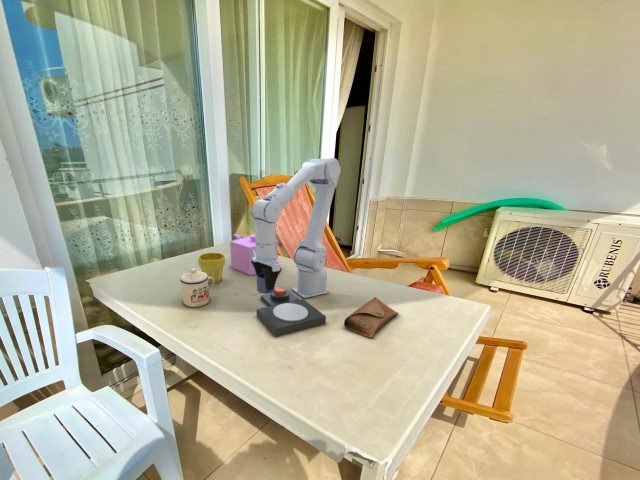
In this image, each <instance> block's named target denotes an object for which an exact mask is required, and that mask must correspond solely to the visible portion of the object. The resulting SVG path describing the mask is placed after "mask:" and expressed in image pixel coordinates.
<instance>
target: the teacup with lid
mask: <svg viewBox="0 0 640 480" xmlns="http://www.w3.org/2000/svg"><path fill="white" fill-rule="evenodd" d="M208 279H211V283H210V284H209V283H208ZM179 281H180V283H181V284H180V285H181V293H182V301H183V304H184V305H185V306H187V307H190V308H198V307H202V306H204V305H207V304H208V303H209V301H210V291H211V290H212V289H213V288H214V286H215V283H214V279H213V278H212V277H208V275H207V274H206V273H204V272H202V271H200V270H197V268H195V267H194V268H193V267H192V268H191V269H190V271H188V272H186V273H183V274H182V275H180V279H179Z"/></svg>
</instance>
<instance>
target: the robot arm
mask: <svg viewBox="0 0 640 480" xmlns="http://www.w3.org/2000/svg"><path fill="white" fill-rule="evenodd" d="M341 169H342V168H341V165H340V163H339V161H338V159H337V158H335V157H331V158H312V157H311V158H308V159H307V160H306V161H305V162H303V163H302V164H301V168H300V169H299V170H298V171H297V172H296V173H295V174H294V176H292V177H291V179H289V181H287V182H286V183H285V182H281V183H277V184H276V185H275V188H274V189H273V190H271V191H270V193H268V194H265V196H264V197H263V199H257V200H256V201H255V202H253V204H252V207H251V209H250V211H249V212H250V216H251V218H252V219H253V224H254V231H255V234H254V235H255V239H256V250H255V251H253V257H254V258H252V261H251V263H252V265H253V267H254V269H255V272H256V274H255V275H256V277H257V274H258V273H260V272H263V275H264V278H265V285H266V289H267V290H273V289H274V286H276V282H277V281H278V280H277V279H278V277H279V275H280V273H281V272H282V267H281V263H279V260H278V261H277V258H276V256H275V245H276V240H277V239H276V235H277V233H276V230H277V229H276V228H277V225H276V224H277V223H276V222H277V221H278V220H279V218H280V216H281V213H282V212H283V210H284V209H285V207H286V206H288V205H289V204H290V203H291V202H292V201H293V200H294V198H295V196H296V195H295V193H296V192H298V191H299V190H300V189H302V187H304V186H305V185H307V184H308V183H309V184H310V185H311V186H312V187H313V188H315V191H316V193H315V196H314V201H313V205H312V209H311V213H310V216H309V221H308V225H307V229H306V234H305V236H304V238H303V239H302V240H300V241H299V242H298V243H297V245H296V247H295V250H294V252H293V254H292V260H293V262H294V264H296V265H295V266H296V268H297V281H296V283H297V284H296V285H297V286H295V287H292V291H293V292H295V293H296V294H297V295H299V297H301V298H302V299H306V298H312V297H317V296H321V295H327V294H328V291H327V281H328V273H327V270H326V268H325V265H326V262H327V251H328V249H327V247H326V246H325V245H324V244H323V242H322V241H323V237H324V232H325V229H326V226H327V221H328V218H329V213H330V209H331V205H332V202H333V197H334V194H335V189H336V188H337V185H338V183H339V178H340V174H341ZM267 267H268V268H267ZM274 290H275V289H274Z"/></svg>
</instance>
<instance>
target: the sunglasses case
mask: <svg viewBox="0 0 640 480" xmlns="http://www.w3.org/2000/svg"><path fill="white" fill-rule="evenodd" d="M399 314H400V313H399V312H398V311H395V310H394V309H393V308H391V307H390V306H389V305H387V304H386V303H385V302H383V301H381V300H380V299H379V298H378V297H377V296H374V298H372V299H371V300H369V301H367V302H366V303H364V304H363V305H362V306H360V307H358V309H356V310H355V311H353V312H352V313H351V314H349V316H347V317H346V318H345V319H344V322H343V325H344V328H345V329H347V330H348V331H350V332H353V333H354V334H357V335H361V336H364V337H366V338H374V337H375V336H376V334H377V333H378V331H379V330H381V329H382V328H383V327H384V326H385V325H386V324H388V323H389V322H390V321H391V320H393V319H394V318H396V317H397V316H398V315H399Z"/></svg>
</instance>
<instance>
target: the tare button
mask: <svg viewBox="0 0 640 480" xmlns="http://www.w3.org/2000/svg"><path fill="white" fill-rule="evenodd" d="M274 290H275V295H285V290H286V289H285V288H284V287H275V289H274Z"/></svg>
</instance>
